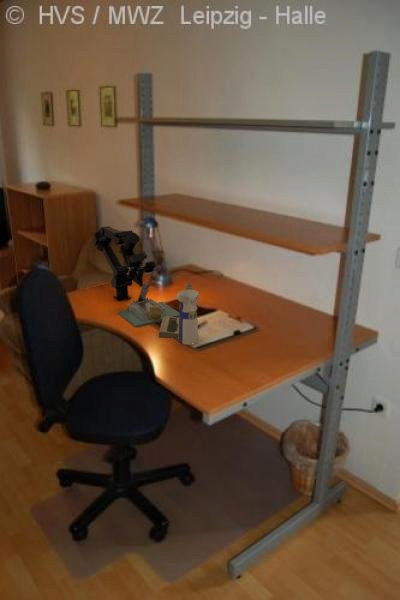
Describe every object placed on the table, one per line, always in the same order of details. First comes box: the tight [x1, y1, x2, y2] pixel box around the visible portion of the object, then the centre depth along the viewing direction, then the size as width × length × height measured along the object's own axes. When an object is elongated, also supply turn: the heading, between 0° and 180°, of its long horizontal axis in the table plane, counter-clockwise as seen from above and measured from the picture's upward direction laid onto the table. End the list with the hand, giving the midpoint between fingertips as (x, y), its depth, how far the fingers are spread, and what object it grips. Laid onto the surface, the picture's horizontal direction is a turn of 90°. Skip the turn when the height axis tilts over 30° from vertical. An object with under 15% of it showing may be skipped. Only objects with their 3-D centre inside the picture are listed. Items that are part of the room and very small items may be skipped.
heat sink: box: [128, 297, 166, 321], centre depth 202 cm, size 15×11×6 cm
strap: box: [137, 282, 151, 302], centre depth 203 cm, size 12×3×1 cm
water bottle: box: [176, 281, 200, 346], centre depth 176 cm, size 8×9×25 cm
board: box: [117, 301, 180, 329], centre depth 204 cm, size 18×22×1 cm
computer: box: [158, 316, 179, 339], centre depth 190 cm, size 16×8×3 cm, turn 178°
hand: (141, 286), depth 203 cm, fingers closed
